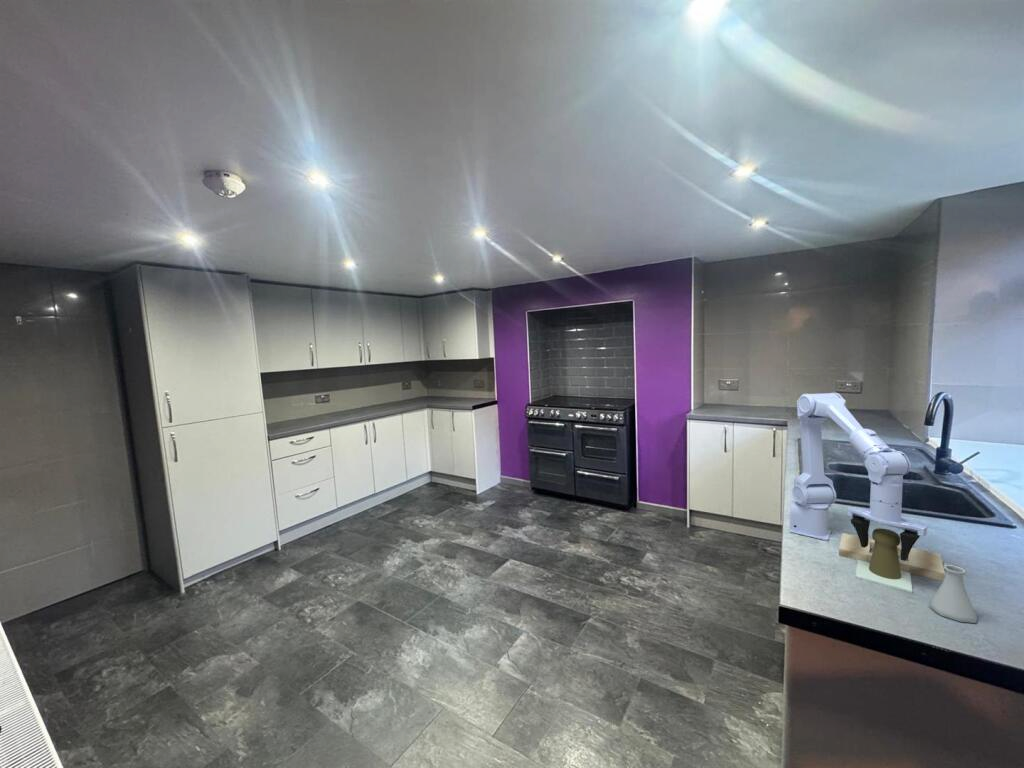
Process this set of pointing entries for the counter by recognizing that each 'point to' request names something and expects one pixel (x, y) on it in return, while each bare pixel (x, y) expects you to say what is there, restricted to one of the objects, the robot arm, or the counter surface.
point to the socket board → (916, 564)
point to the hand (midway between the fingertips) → (883, 552)
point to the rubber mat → (867, 575)
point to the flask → (953, 597)
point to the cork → (885, 554)
